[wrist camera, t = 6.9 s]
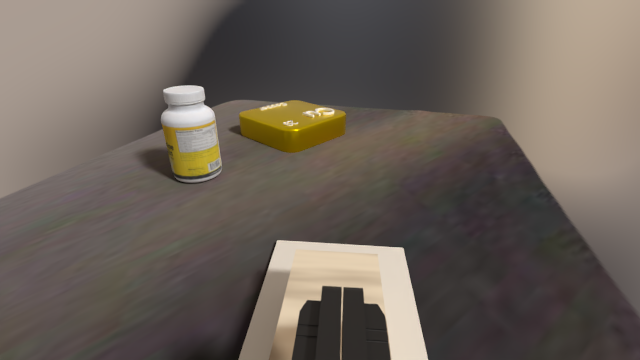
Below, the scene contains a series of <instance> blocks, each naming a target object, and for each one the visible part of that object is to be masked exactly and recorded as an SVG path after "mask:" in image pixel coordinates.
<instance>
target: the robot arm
mask: <svg viewBox="0 0 640 360" xmlns="http://www.w3.org/2000/svg"><path fill="white" fill-rule="evenodd" d="M341 298H342V287H336V286H322V294H321V301H317V300H307V301H306V303H305V304H304V305H303V307H302V308H301V310H300V312H299V318H298V325H297V330H296V337H295V342H294V348H293V354H292V360H340V345H341ZM341 360H391V357H390V349H389V344H388V334H387V327H386V319H385V315H384V313H383V312H382V310H381V309H380V307H379V305H378V304H368V303H364V292H363V288H353V287H343V312H342V355H341Z"/></svg>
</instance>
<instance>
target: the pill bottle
mask: <svg viewBox="0 0 640 360" xmlns="http://www.w3.org/2000/svg"><path fill="white" fill-rule="evenodd" d="M163 94H164V99H165V102H166V103H168V109H166V110H165V111H164V112H163V114H162V116H161V122H162V126H163V131H164V136H165V140H166V145H167V149H168V154H169V158H170V163H171V167H172V172H173V175H174V177H175V178H176V179H177V180H179V181H182V182H186V183H198V182H204V181H207V180H210V179H212V178H214V177H216V176H217V175H219V173H220V172H221V170H222V163H221V157H220V150H219V142H218V135H217V128H216V120H215V114H214V112H213V110H212V109H211V108H209V107H208V106H205V105H204V102H203V101H204V100H205V94H204V89H203V87H200V86H176V87H170V88H167V89H164V90H163Z"/></svg>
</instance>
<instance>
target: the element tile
mask: <svg viewBox="0 0 640 360" xmlns="http://www.w3.org/2000/svg"><path fill="white" fill-rule="evenodd" d="M239 119H240V129H241V135H242V136H245V137H247V138H250V139H252V140H255V141H257V142H260V143H262V144H265V145H268V146H270V147H273V148H275V149H278V150H280V151H283V152H288V153H295V152H300V151H303V150H305V149H308V148H311V147H313V146H316V145H319V144H321V143H324V142H326V141H329V140H332V139H334V138H337V137H340V136H342V135H344V134H345V124H346V114H345V112H343V111H339V110H335V109H331V108H327V107H323V106H319V105H315V104H310V103H306V102H302V101H298V100H291V101H287V102H282V103H278V104H274V105H269V106H268V105H267V106H265V107H261V108H256V109H252V110H248V111H243V112H241V113H240V114H239Z"/></svg>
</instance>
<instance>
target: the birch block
mask: <svg viewBox="0 0 640 360" xmlns="http://www.w3.org/2000/svg"><path fill="white" fill-rule="evenodd" d="M322 286H336V287H342V298H341V345H340V360H341V355H342V312H343V287H353V288H363V292H364V303H368V304H378V305H379V307H380V309H381V310H382V312H383V313H384V315H385V319H386V313H385V306H384V298H383V291H382V283H381V276H380V268H379V261H378V254H367V253H350V252H334V251H317V250H300V249H296V251H295V255H294V259H293V263H292V267H291V271H290V276H289V280H288V284H287V288H286V292H285V296H284V300H283V304H282V308H281V312H280V316H279V320H278V324H277V328H276V332H275V336H274V340H273V344H272V348H271V352H270V356H269V360H292V354H293V348H294V342H295V337H296V330H297V325H298V318H299V312H300V310H301V308H302V307H303V305H304V304H305V303H306V301H307V300H317V301H321V294H322ZM386 327H387V321H386ZM387 334H388V328H387ZM388 344H389V349H390V343H389V336H388ZM390 357H391V351H390ZM391 360H392V358H391Z"/></svg>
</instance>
